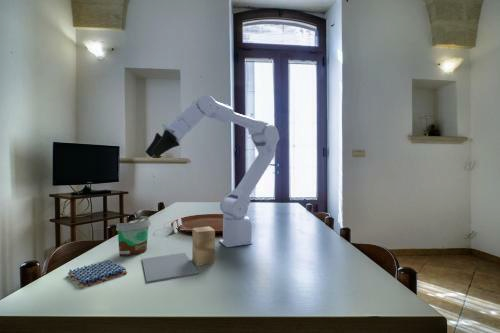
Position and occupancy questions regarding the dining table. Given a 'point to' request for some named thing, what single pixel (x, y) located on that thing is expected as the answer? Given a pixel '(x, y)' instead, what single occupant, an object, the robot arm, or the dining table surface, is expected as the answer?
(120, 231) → the food container
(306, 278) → the dining table surface
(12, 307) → the dining table surface
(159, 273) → the grey rubber mat
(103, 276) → the woven mat
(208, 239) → the wood block
